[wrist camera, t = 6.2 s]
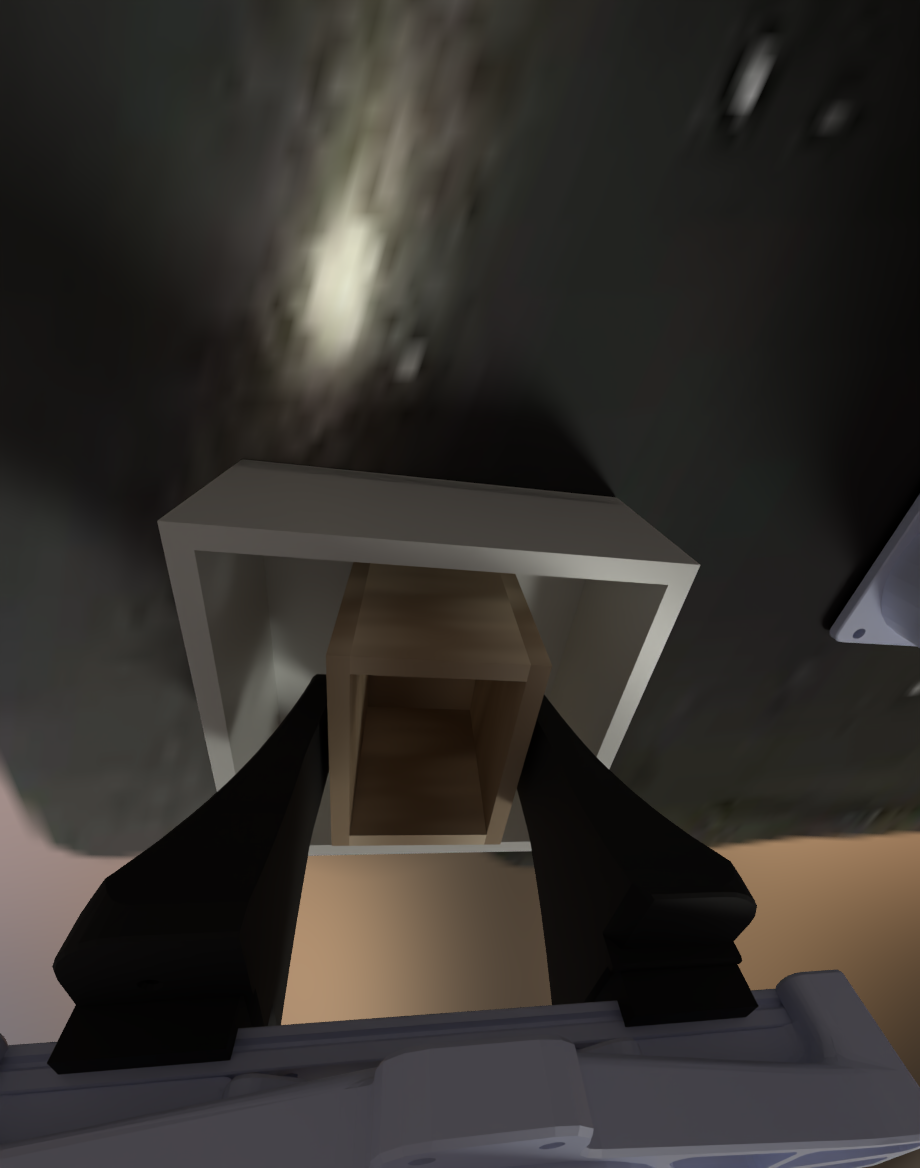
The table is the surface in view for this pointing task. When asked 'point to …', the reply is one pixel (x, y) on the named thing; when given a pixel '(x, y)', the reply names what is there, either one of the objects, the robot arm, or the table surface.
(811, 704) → the table surface
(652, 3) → the table surface
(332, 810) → the wood crate
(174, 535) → the storage crate
